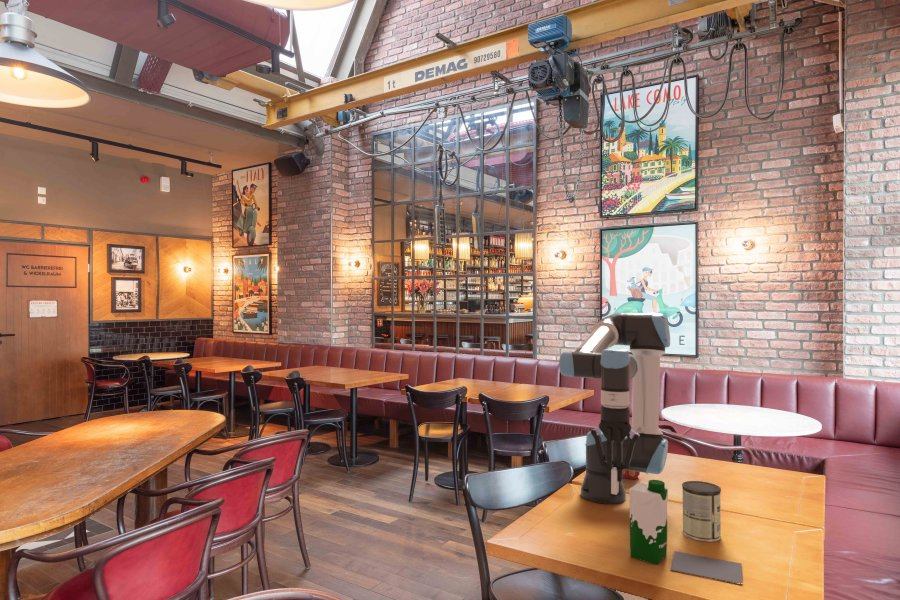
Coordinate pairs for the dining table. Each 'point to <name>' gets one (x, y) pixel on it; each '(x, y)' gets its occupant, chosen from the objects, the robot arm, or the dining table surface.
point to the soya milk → (648, 521)
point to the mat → (707, 567)
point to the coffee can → (701, 511)
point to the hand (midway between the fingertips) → (614, 492)
